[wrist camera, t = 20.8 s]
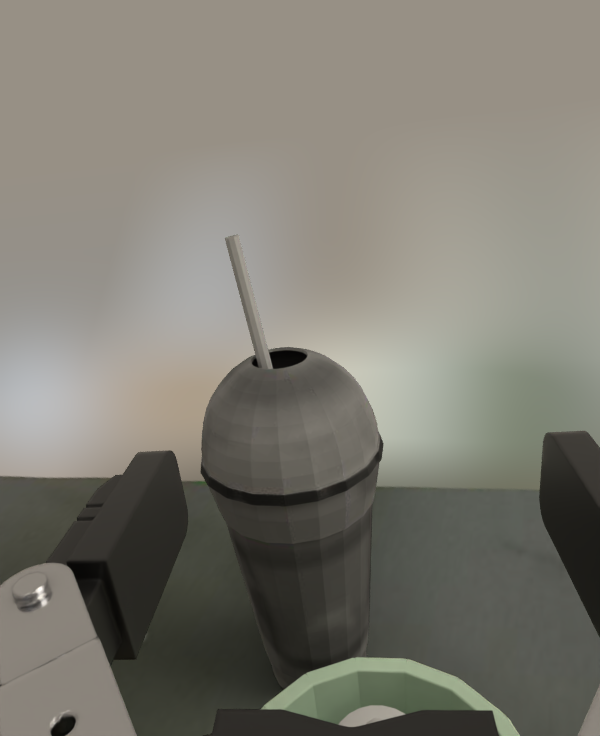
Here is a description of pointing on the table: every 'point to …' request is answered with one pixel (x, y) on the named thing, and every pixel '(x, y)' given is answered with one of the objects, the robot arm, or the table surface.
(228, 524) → the beverage cup
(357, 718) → the chess piece
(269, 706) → the glazed cup
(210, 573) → the table surface
